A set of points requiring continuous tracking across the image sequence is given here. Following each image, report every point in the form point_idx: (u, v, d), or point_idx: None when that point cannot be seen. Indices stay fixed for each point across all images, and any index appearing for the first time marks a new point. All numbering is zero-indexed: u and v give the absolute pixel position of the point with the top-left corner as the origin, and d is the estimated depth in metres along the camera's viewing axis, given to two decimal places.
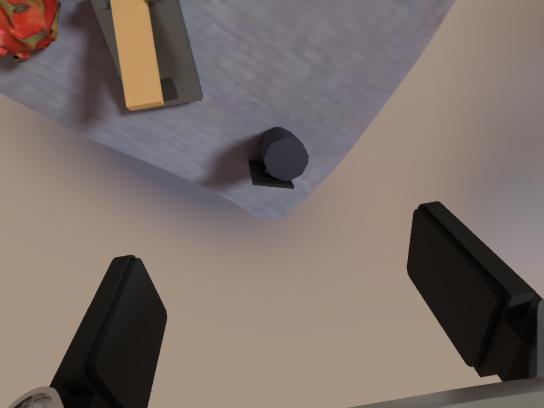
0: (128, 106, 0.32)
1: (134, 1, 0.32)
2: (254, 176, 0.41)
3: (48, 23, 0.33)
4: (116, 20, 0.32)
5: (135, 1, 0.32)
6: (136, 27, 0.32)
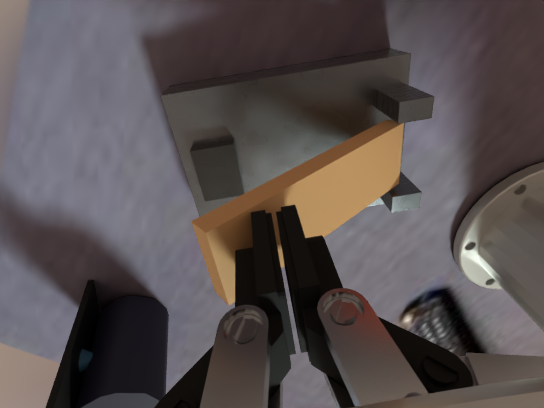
0: (208, 236, 0.10)
1: (393, 171, 0.17)
2: (63, 382, 0.19)
3: None
4: (376, 144, 0.15)
5: (393, 172, 0.17)
6: (361, 189, 0.15)
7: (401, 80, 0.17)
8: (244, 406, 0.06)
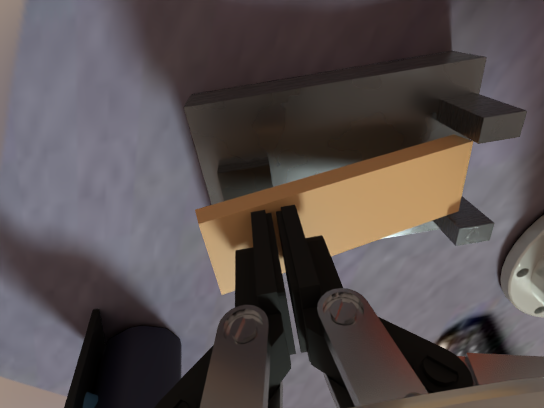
0: (201, 227, 0.11)
1: (451, 195, 0.14)
2: None
3: None
4: (425, 162, 0.13)
5: (450, 197, 0.14)
6: (398, 210, 0.13)
7: (471, 89, 0.14)
8: (244, 406, 0.06)
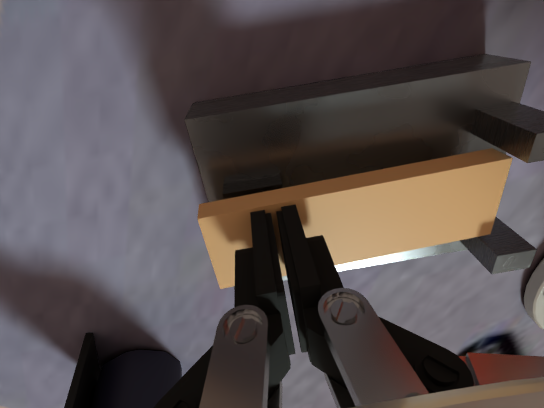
0: (200, 222, 0.11)
1: (481, 216, 0.13)
2: None
3: None
4: (449, 177, 0.11)
5: (480, 218, 0.13)
6: (415, 226, 0.12)
7: (511, 97, 0.12)
8: (243, 406, 0.06)
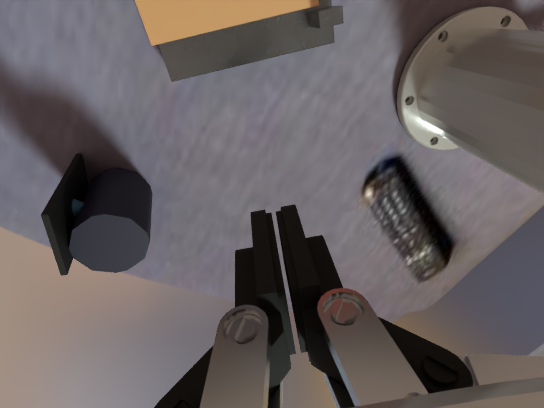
0: None
1: None
2: (58, 201, 0.22)
3: None
4: None
5: None
6: None
7: None
8: (244, 406, 0.06)
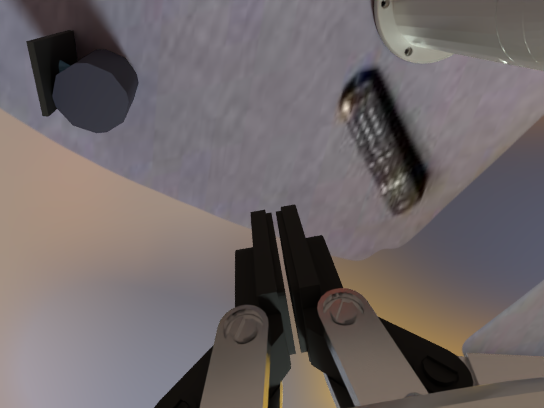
0: None
1: None
2: (45, 44, 0.24)
3: None
4: None
5: None
6: None
7: None
8: (244, 406, 0.06)
